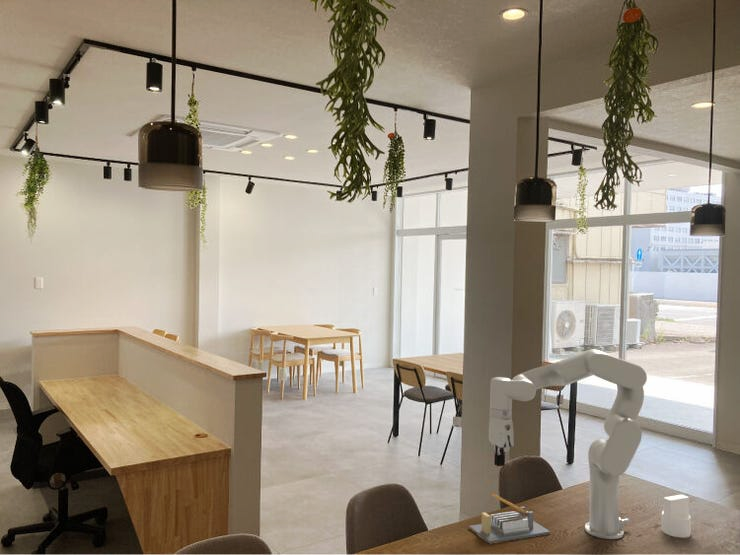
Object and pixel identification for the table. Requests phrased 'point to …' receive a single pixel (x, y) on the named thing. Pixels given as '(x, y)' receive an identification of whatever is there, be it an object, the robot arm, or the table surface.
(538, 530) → the cpu board
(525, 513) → the strap
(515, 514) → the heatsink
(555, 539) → the table surface
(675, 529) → the white tapered canister
